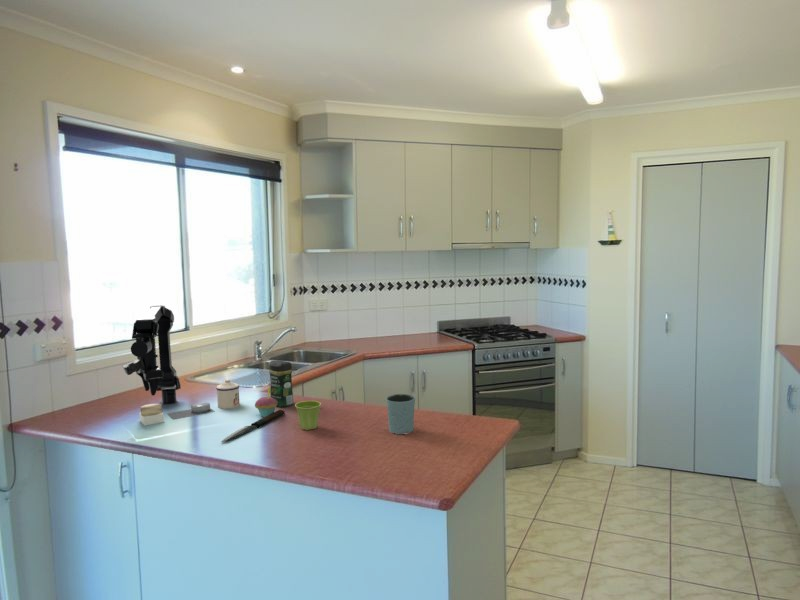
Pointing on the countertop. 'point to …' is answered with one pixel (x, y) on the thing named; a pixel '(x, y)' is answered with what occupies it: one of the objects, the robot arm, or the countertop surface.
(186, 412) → the mat
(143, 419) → the open white box
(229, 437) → the kitchen knife
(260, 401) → the cupcake
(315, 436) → the countertop surface
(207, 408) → the grey puck
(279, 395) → the coffee jar
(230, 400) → the teacup with lid
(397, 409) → the blue cup
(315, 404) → the plant pot
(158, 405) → the cork lid
